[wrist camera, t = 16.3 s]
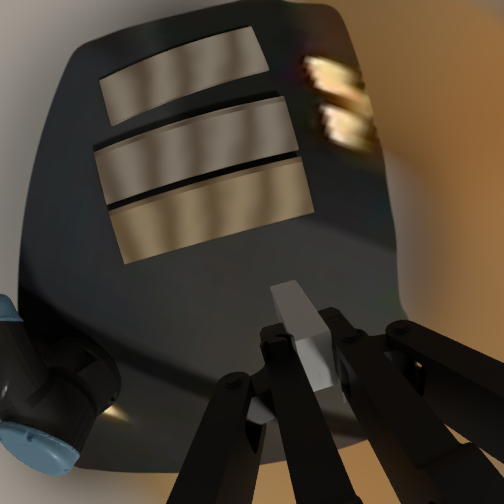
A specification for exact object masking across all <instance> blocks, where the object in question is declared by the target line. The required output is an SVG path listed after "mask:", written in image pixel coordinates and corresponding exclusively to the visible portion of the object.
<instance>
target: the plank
mask: <svg viewBox="0 0 504 504" xmlns="http://www.w3.org/2000/svg"><path fill="white" fill-rule="evenodd" d="M268 70H269V67H268V65H267V63H266V60H265V58H264V55H263V53H262V50H261V48H260V46H259V43H258V41H257V39H256V36H255V34H254V32H253V29H252V27H247V28H242V29H238V30H234V31H230V32H226V33H223V34H219V35H215V36H212V37H208V38H205V39H202V40H198V41H195V42H192V43H189V44H186V45H183V46H180V47H177V48H174V49H172V50H169V51H166V52H164V53H161V54H158V55H156V56H153V57H151V58H148V59H146V60H143V61H141V62H139V63H136V64H134V65H132V66H129V67H127V68H125V69H123V70H121V71H118V72H116V73H114V74H112V75H110V76H108V77H106V78H104V79H102V80H100V85H101V89H102V93H103V97H104V101H105V105H106V109H107V112H108V116H109V120H110V123H111V125H112V126H114V125H116V124H118V123H120V122H123V121H125V120H127V119H129V118H131V117H134V116H136V115H138V114H140V113H143V112H145V111H147V110H150V109H152V108H155V107H157V106H160V105H162V104H165V103H167V102H170V101H172V100H175V99H178V98H180V97H183V96H186V95H189V94H191V93H194V92H197V91H200V90H203V89H206V88H209V87H212V86H215V85H218V84H222V83H225V82H228V81H232V80H235V79H239V78H242V77H246V76H249V75H253V74H257V73H261V72H265V71H268Z"/></svg>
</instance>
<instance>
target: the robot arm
mask: <svg viewBox="0 0 504 504" xmlns="http://www.w3.org/2000/svg"><path fill="white" fill-rule="evenodd" d="M270 289H271V292H272V296H273V300H274V304H275V308H276V312H277V316H278V320H279V323H278V324H274V325H271V326H267V327H263V328H262V330H261V332H260V337H261V344H260V348H261V351H262V354H263V358H264V361H265V365H264V367H263V368H262V369H261V370H260V371H259V372H257V373H255V374H254V375H252V376H249V375H248V374H247V373H244V372H233V373H229V374H227V375H225V376H223V377H222V378H221V379H219V381H218V382H217V384H216V386H215V389H214V391H213V394H212V396H211V398H210V401H209V403H208V406H207V408H206V411H205V413H204V415H203V418H202V420H201V423H200V425H199V427H198V430H197V432H196V435H195V437H194V439H193V442H192V444H191V446H190V449H189V451H188V454H187V456H186V458H185V461H184V463H183V465H182V468H181V470H180V472H179V475H178V477H177V479H176V482H175V484H174V487H173V489H172V491H171V493H170V496H169V498H168V500H167V503H166V504H252V500H253V495H254V490H255V485H256V480H257V475H258V470H259V465H260V460H261V454H262V449H263V444H264V438H265V433H266V422H268V421H270V420H272V419H274V418H276V417H277V420H278V424H279V429H280V433H281V438H282V442H283V447H284V451H285V456H286V460H287V464H288V469H289V473H290V478H291V482H292V486H293V491H294V494H295V499H296V504H363V502H362V500H361V499H360V497H358V496H357V495H356V494H355V492H354V489H353V487H352V485H351V482H350V479H349V477H348V475H347V472H346V470H345V467H344V465H343V462H342V460H341V457H340V455H339V453H338V450H337V448H336V445H335V443H334V440H333V438H332V435H331V433H330V431H329V428H328V426H327V423H326V421H325V418H324V416H323V414H322V411H321V409H320V406H319V404H318V401H317V399H316V397H315V394H314V391H317V390H320V389H323V388H326V387H330V386H333V385H336V384H338V377H339V379H340V381H341V388H342V395H343V402H344V403H345V402H346V399H347V401H348V403H349V404H350V406H351V408H352V410H353V412H354V414H355V416H356V418H357V420H358V421H359V423H360V425H361V427H362V429H363V431H364V433H365V435H366V437H367V439H368V441H369V442H370V444H371V446H372V448H373V450H374V452H375V454H376V456H377V458H378V460H379V462H380V464H381V466H382V467H383V469H384V471H385V473H386V475H387V477H388V479H389V481H390V483H391V485H392V487H393V489H394V491H395V493H396V495H397V497H398V499H399V501H400V503H401V504H504V478H503V476H502V475H501V474H500V473H499V471H498V470H497V469H496V468H495V467H494V465H493V464H492V463H491V462H490V461H489V459H488V458H487V457H486V456H485V455H484V453H483V452H482V451H481V450H480V449H479V448H481V449H482V450H484V451H485V452H486V453H488V454H489V455H491V456H492V457H494V458H496V459H497V460H499V461H500V462H501V463H503V464H504V363H502V362H500V361H498V360H496V359H494V358H491V357H489V356H487V355H485V354H483V353H480V352H478V351H476V350H474V349H472V348H469V347H467V346H465V345H463V344H461V343H459V342H457V341H454V340H452V339H450V338H448V337H446V336H443V335H441V334H439V333H437V332H435V331H432V330H430V329H428V328H426V327H423V326H421V325H419V324H417V323H415V322H412V321H409V320H399V321H395V322H392V323H390V324H389V325H388V326H387V327H386V329H385V331H386V334H382V335H376V336H368V334H367V333H366V332H365V331H363V330H361V329H354V327H353V326H352V325H351V324H350V323H349V322H348V320H347V319H345V317H344V316H343V315H342V313H341V312H340V311H339V310H338V309H335V308H333V307H330V308H326V309H323V310H320V311H316V309H315V308H314V306H313V305H312V303H311V302H310V300H309V299H308V297H307V296H306V295H305V293H304V292H303V290H302V289H301V287H300V286H299V284H298V283H297V282H296V280H292V281H289V282H285V283H282V284H278V285H274V286H271V287H270ZM417 362H418V363H420V364H421V365H422V367H419V366H418V365H417ZM337 375H338V377H337ZM120 390H121V377H120V373H119V371H118V369H117V367H116V365H115V363H114V362H113V360H112V359H111V358H110V357H109V356H108V354H107V353H106V352H104V351H103V350H102V349H101V348H100V347H98V346H97V345H95V344H94V343H92V342H90V341H88V340H86V339H83V338H79V337H72V336H71V337H64V338H61V339H59V340H58V341H57V342H56V343H55V344H54V345H53V346H52V347H51V348H50V349H49V351H48V353H47V356H46V360H45V363H44V361H43V360H42V358H41V356H40V354H39V352H38V351H37V349H36V347H35V345H34V343H33V341H32V340H31V338H30V336H29V334H28V332H27V330H26V328H25V326H24V324H23V319H22V318H20V317H19V315H18V313H17V311H16V309H15V307H14V305H13V303H12V301H11V299H10V298H9V297H8V296H6V295H3V294H0V421H1V422H0V441H1V443H2V444H3V445H4V447H5V448H6V449H7V450H8V451H9V452H10V453H11V454H12V455H14V456H15V457H16V458H17V459H19V460H20V461H22V462H23V463H25V464H26V465H28V466H30V467H31V468H34V469H36V470H38V471H40V472H43V473H46V474H50V475H57V476H59V475H65V474H67V473H68V472H70V470H71V469H72V467H73V465H74V464H75V462H76V460H78V459H79V456H80V452H81V450H82V448H83V446H84V443H85V441H86V439H87V437H88V434H89V432H90V430H91V428H92V426H93V424H94V421H95V419H96V417H97V416H99V415H100V414H101V413H102V412H104V411H105V410H106V409H108V408H109V407H110V406H112V405H113V404H114V402H115V401H116V399H117V397H118V395H119V393H120ZM444 424H446V425H447V426H448V427H450V428H451V429H453V430H454V431H456V432H457V433H459V434H460V435H462V436H463V437H465V438H466V439H467V440H469V441H470V442H468V443H465V444H461V443H459V442H458V441H457V439H456V438H455V437H454V436H453V434H452V433H451V432H450V431H449V430H448V428H447V427H446V426H445V425H444ZM471 442H472V443H471ZM477 446H478V447H477Z"/></svg>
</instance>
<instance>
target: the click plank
mask: <svg viewBox="0 0 504 504" xmlns="http://www.w3.org/2000/svg"><path fill="white" fill-rule="evenodd" d="M297 150H299V148H298V145H297V141H296V137H295V133H294V130H293V126H292V123H291V119H290V116H289V112H288V109H287V105H286V102H285V98H284V96H282V97H276V98H271V99H266V100H261V101H256V102H252V103H247V104H243V105H238V106H234V107H230V108H226V109H222V110H218V111H214V112H210V113H207V114H203V115H199V116H196V117H192V118H189V119H186V120H182V121H179V122H176V123H172V124H169V125H166V126H163V127H160V128H157V129H154V130H151V131H148V132H145V133H143V134H140V135H137V136H134V137H132V138H129V139H126V140H124V141H121V142H118V143H116V144H113V145H111V146H108V147H106V148H103V149H101V150H98V151H96V152H94V156H95V160H96V164H97V168H98V173H99V177H100V181H101V185H102V189H103V193H104V197H105V201H106V204H111V203H114V202H117V201H120V200H122V199H125V198H128V197H131V196H134V195H137V194H140V193H143V192H146V191H149V190H152V189H155V188H158V187H161V186H164V185H168V184H171V183H174V182H177V181H181V180H184V179H187V178H191V177H194V176H197V175H201V174H204V173H208V172H211V171H215V170H219V169H222V168H226V167H230V166H234V165H237V164H241V163H245V162H249V161H253V160H257V159H261V158H266V157H270V156H274V155H279V154H283V153H287V152H292V151H297Z"/></svg>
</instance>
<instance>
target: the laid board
mask: <svg viewBox="0 0 504 504" xmlns="http://www.w3.org/2000/svg"><path fill="white" fill-rule="evenodd" d="M108 212H109V216H110V219H111V222H112V225H113V229H114V232H115V235H116V239H117V242H118V245H119V248H120V251H121V254H122V257H123V260H124V263H125V264H127V263H131V262H134V261H137V260H141V259H144V258H148V257H151V256H155V255H158V254H162V253H165V252H169V251H172V250H176V249H179V248H183V247H186V246H190V245H193V244H197V243H201V242H204V241H208V240H211V239H215V238H219V237H222V236H226V235H230V234H233V233H237V232H241V231H244V230H248V229H252V228H256V227H259V226H263V225H267V224H271V223H274V222H278V221H282V220H286V219H290V218H294V217H297V216H301V215H305V214H309V213H313V212H314V209H313V205H312V201H311V196H310V192H309V188H308V184H307V180H306V176H305V172H304V168H303V164H302V159H301V156H300V157H296V158H291V159H287V160H282V161H278V162H274V163H269V164H265V165H261V166H257V167H253V168H249V169H245V170H241V171H237V172H234V173H230V174H226V175H222V176H219V177H215V178H212V179H208V180H204V181H201V182H198V183H194V184H191V185H187V186H184V187H181V188H177V189H174V190H171V191H168V192H164V193H161V194H158V195H155V196H152V197H149V198H146V199H143V200H140V201H137V202H134V203H131V204H128V205H125V206H122V207H119V208H116V209H113V210H111V211H108Z"/></svg>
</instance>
